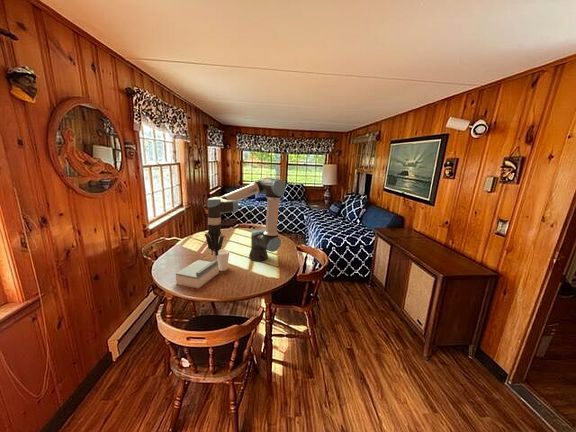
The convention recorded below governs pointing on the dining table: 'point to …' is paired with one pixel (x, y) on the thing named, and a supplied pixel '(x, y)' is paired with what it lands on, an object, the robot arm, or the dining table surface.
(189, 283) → the box
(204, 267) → the lid
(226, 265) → the foam cup
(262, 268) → the dining table surface
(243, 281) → the dining table surface
